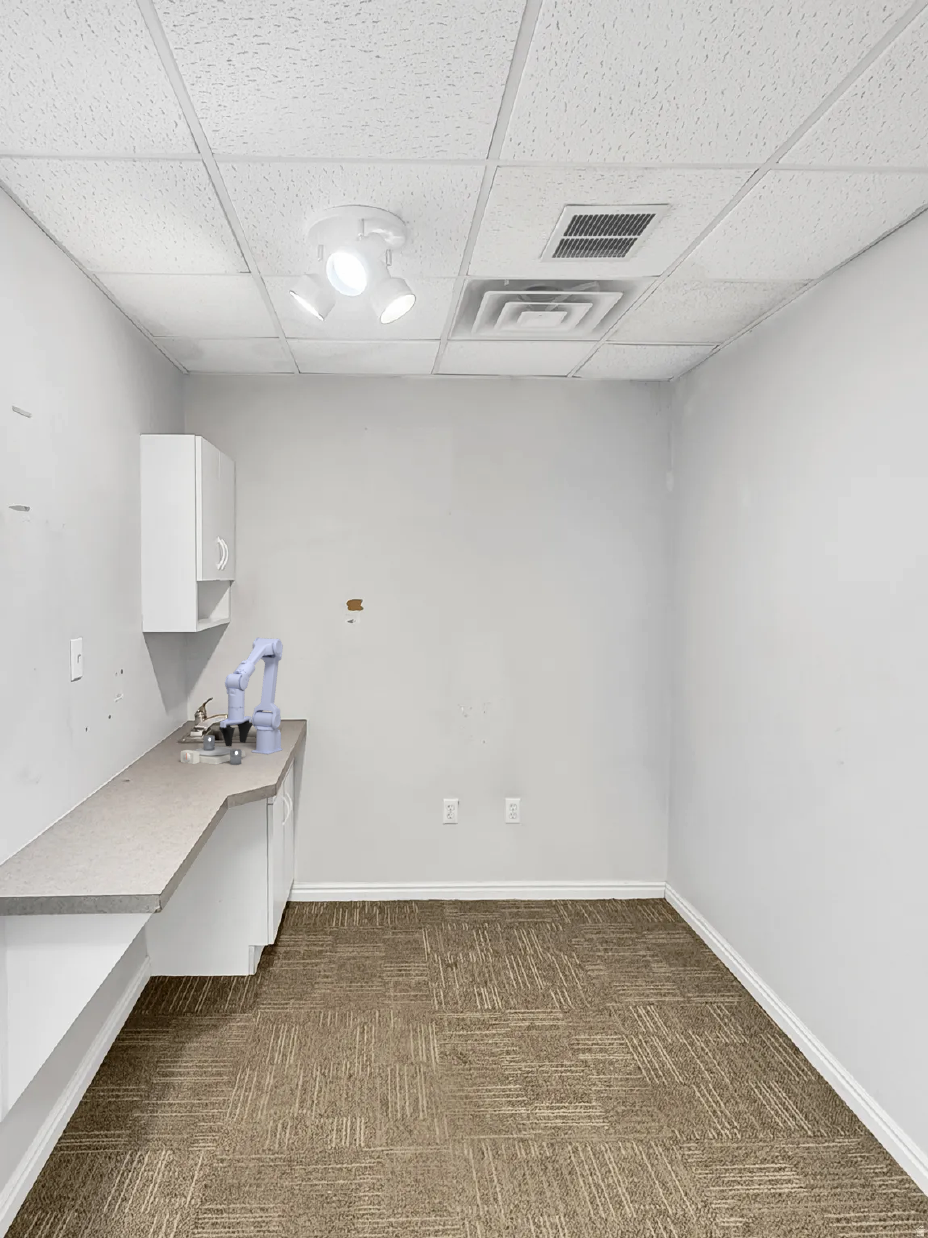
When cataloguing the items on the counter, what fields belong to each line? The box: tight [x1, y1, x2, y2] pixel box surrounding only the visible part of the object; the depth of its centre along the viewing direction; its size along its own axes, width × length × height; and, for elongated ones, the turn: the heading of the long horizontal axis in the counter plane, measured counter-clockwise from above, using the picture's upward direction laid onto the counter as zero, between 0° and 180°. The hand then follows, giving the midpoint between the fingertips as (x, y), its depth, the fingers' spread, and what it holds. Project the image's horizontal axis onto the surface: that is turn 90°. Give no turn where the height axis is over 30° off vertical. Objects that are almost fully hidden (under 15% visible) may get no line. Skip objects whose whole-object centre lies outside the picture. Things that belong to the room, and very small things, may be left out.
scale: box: [180, 745, 246, 765], centre depth 309 cm, size 20×16×4 cm
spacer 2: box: [229, 748, 243, 766], centre depth 303 cm, size 4×4×5 cm
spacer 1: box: [202, 734, 216, 751], centre depth 312 cm, size 4×4×5 cm
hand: (235, 744), depth 302 cm, fingers open, 7 cm apart
